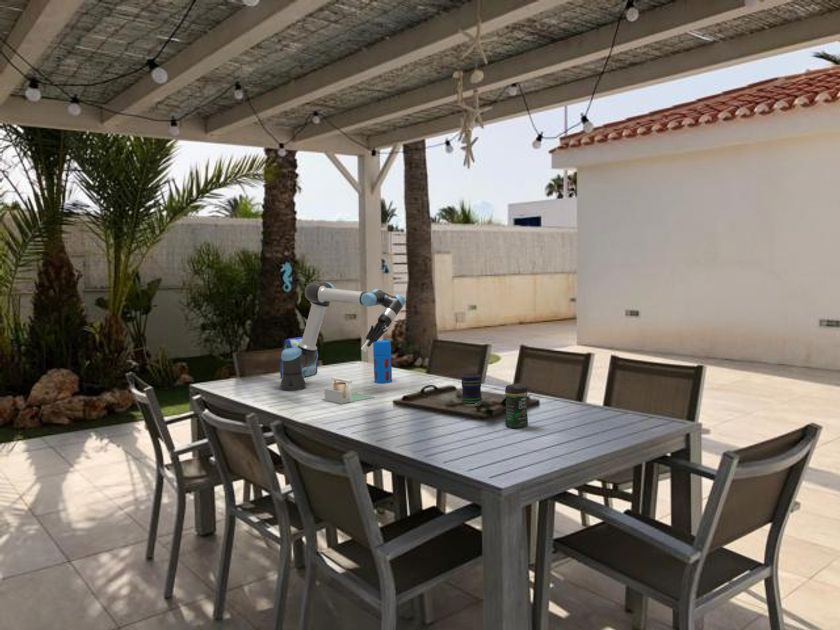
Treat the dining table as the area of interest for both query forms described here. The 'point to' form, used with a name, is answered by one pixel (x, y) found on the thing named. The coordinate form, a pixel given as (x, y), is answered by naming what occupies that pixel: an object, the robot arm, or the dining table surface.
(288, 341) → the lunch bag
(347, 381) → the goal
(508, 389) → the coffee jar
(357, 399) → the pitch
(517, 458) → the dining table surface
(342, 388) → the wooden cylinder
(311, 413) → the dining table surface
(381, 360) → the thermos
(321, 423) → the dining table surface
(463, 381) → the storage jar
